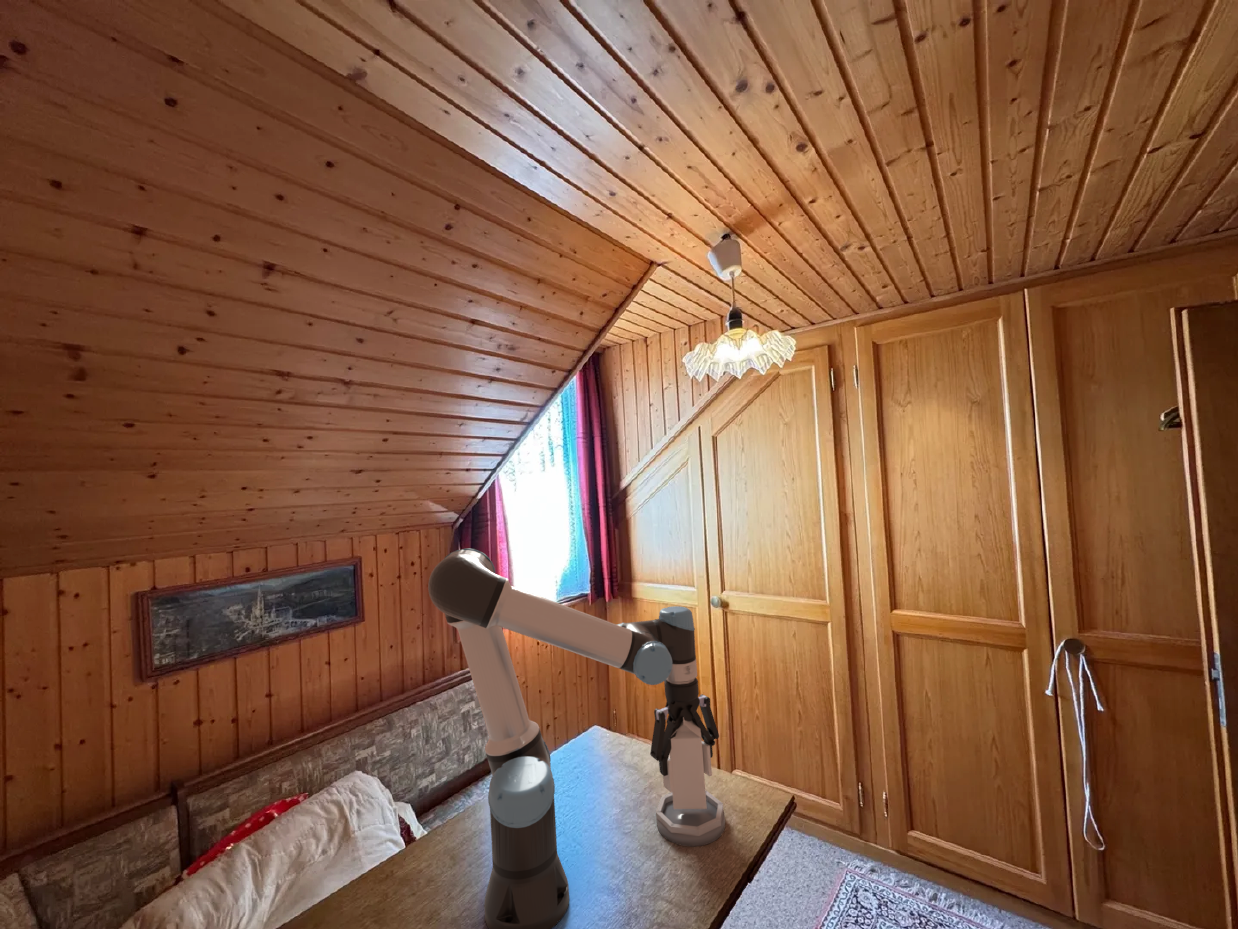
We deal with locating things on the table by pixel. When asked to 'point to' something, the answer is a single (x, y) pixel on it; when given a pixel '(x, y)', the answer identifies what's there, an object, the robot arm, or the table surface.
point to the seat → (690, 822)
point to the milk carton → (688, 767)
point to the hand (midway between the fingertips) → (688, 780)
